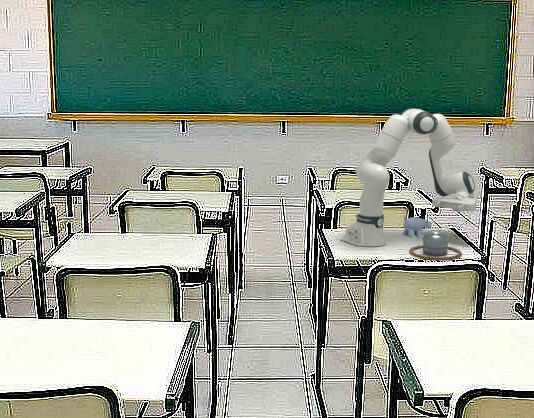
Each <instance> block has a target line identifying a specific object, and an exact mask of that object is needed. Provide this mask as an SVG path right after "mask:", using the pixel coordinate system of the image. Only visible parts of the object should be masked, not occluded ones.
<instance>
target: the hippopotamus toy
mask: <svg viewBox="0 0 534 418" xmlns="http://www.w3.org/2000/svg"><path fill="white" fill-rule="evenodd" d="M403 221H404V222H403V228H404V229H403V230H404V231H403V233H404V234H406V235H408V237H409V238H416V237H417V238H418V237H419V238H423V235H424V234H423V229H432V223H430V222H429V220H427V219H424V218H420V217H408V218H406V217H404V216H403Z"/></svg>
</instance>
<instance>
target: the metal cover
mask: <svg viewBox="0 0 534 418" xmlns="http://www.w3.org/2000/svg"><path fill="white" fill-rule="evenodd" d="M422 235H423V237H422V239H423V240H422V245H423V248H422V254H423V256H429V257H447V255H448V251H449V250H448V247H449V234H448V233H446V232H443V231H437V230H432V231H426V232H423V234H422Z"/></svg>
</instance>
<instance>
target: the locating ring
mask: <svg viewBox="0 0 534 418" xmlns="http://www.w3.org/2000/svg"><path fill="white" fill-rule="evenodd" d="M420 249H423V244H422V245H416V246H412V247H410V249H409V251H408V252H409V254H410V255H411V256H413V257H415V258H419V259H421V260H430V261H431V260H432V261H450V260H456V259H459V258H460V257H462V256H463V254H462V253H463V252H462V251H461V250H460V249H458V248H456V247H451V246H448V251H452V250H453V251H452V252H454V251H455V252H454V253H456V252H457V253H458V254H457V253H456V254H454V255H451V256H442V257H432V256H427V255H424V254H423V255H421V254H419V253H417V252H414V251H416V250H420Z"/></svg>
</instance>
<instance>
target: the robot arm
mask: <svg viewBox="0 0 534 418" xmlns="http://www.w3.org/2000/svg"><path fill="white" fill-rule="evenodd" d="M410 132H411V133H413V134H419V135H428V138H429V140H430V144H431V147H430V149H429V151H428V158H429V164H430V169H431V173H432V176H433V177H432V179H433V182H434V183H433V184H434V189H435V193H436V194H437V195H439V196H441V197H434V198H432V201H431V206H432V207H436V208H443V209H451V210H452V211H453V212H456V213H459V212H476V209H477V200H478V199H477V198H478V196H477V193H476V192H475V188H476V187H475V181H474V178H473V177H472V175H471V174H470V173H468V172H467V171H461V172H460V171H459V172H456V173H452V174H447V175H445V174H444V172H443V168H442V165H441V159H442V158H443V157H445V156H446V155H448V154H449V153H451V151H452V150H453V149H454V148H455V145H456V138H455V137H456V136H455V135H454V133H453V130H452V127H451V125H450V123H449V122H448V120H447V119H446V117H445V116H444V115H443V114H441V113H433V114H432V113H430V112H429V111H425V110H422V109H419V108H413V107H411V108H407V109H405V110H403V111H402V113H400V114H396V113H395V114H392V115H391V116H390V117H389V118H388V120H387V121H386V122H385V123H384V125H383V127H382V129H381V131H380V133H379V134H378V136H377V139H375V143H374V144H373V146H372V147H371V149H370V150H369V152H368V153H367V154H366V155H365V157H364V158H363V159H362V161H360V163H358V165H357V166H356V167H355V174H356V177H357V178H358V180H359V181H360V182H362V183H363V188H362V193H361V196H360V197H359V213H358V214H356V215H355V218H356V221H354V222H352V224H350V225H348V227H347V228H346V230H345V234H344V236H340V239H341V240H340V241H342V240H344V241H346V242H345V243H347V242H349V243H348V244H350V243H351V244H350V245H353V244H354V245H353V246H355V245H357V246H356V247H380V246H384V245H386V239H385V232H384V222H385V215H384V197H385V192H386V188H387V185H388V183H389V182H390V173H389V171H388V170H387V168H386V166H387V165H388V164H389V162H391V160H393V159H394V158H395V156H396V155H397V153H398V151H399V149H400V147H401V145H402V143H403V141H404V138H405V137H406V135H407V134H408V133H410ZM449 196H450V197H449ZM447 197H448V198H447ZM344 241H343V242H344Z"/></svg>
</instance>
